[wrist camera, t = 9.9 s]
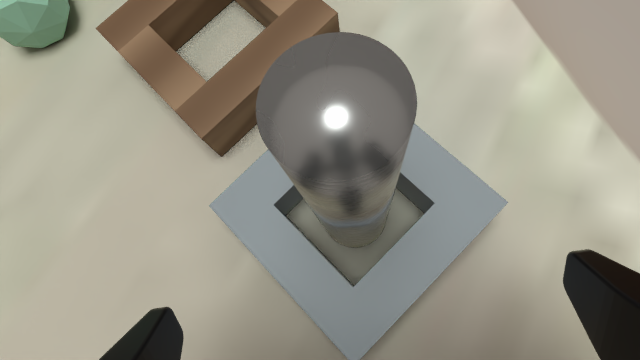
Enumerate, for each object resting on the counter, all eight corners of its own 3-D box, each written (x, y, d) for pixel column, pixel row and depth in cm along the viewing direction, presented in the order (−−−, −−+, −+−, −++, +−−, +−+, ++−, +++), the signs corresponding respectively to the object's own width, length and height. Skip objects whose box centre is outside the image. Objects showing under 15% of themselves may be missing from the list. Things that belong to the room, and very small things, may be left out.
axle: (398, 224, 21) (451, 119, 8) (346, 259, 21) (310, 213, 8) (362, 174, 22) (355, 5, 9) (311, 208, 22) (227, 87, 9)
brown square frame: (341, 44, 25) (337, 12, 22) (221, 156, 24) (201, 138, 21) (236, -41, 27) (221, -80, 24) (125, 56, 26) (95, 28, 23)
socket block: (489, 213, 21) (508, 202, 18) (355, 354, 20) (353, 366, 17) (353, 96, 24) (350, 70, 21) (228, 215, 23) (208, 205, 20)
